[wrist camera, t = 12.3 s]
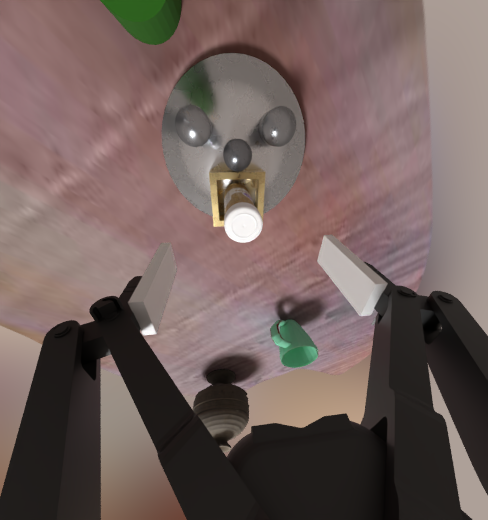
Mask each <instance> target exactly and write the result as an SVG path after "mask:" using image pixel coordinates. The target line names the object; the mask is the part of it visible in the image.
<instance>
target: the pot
mask: <svg viewBox="0 0 488 520" xmlns="http://www.w3.org/2000/svg"><path fill="white" fill-rule="evenodd" d="M234 379H235V373H234V372H232V371H230V370H227V369H220V370H216V371H213V372H211V373H210V374H208V376H207V380H208V382H209V383H211V384H212V385H213V386H212V385H210V386H209V387H207V388H206V389H204V390H202V391H200V392H198V394H197V395H196V398H195V401H194V406H193V411H194V413H195V414H197V415H198V417H199V418H200V419H201V420H202V422H203V423H204V425H205V426H206V428H207V429H208V431H209V432H210V434H211V435H212V437H213V438H214V439H215V441H216V442H217V444H218V445H219V447H220V448H221V450H222V451H223V452H228V451H230V450H231V446H230V445H229V444H228V443H227V441H228V440H231V439H233V438H235V437H236V436H238V435H239V434H240V433H241V432H242V431H243V430H244V428H245V427H246V425H247V423H248V419H249V405H248V398H247V396H246V395H247V393H246V392H245V391H244V390H243V389H242V388H240V387H238V386H236V385H232V384H230V383H232V382H233V381H234Z"/></svg>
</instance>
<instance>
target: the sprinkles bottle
mask: <svg viewBox="0 0 488 520" xmlns="http://www.w3.org/2000/svg"><path fill="white" fill-rule="evenodd" d="M224 207H225V217H224V227H225V231H226V233H227V235H228V236H229V237H230V238H231V239H232V240H234V241H237V242H242V243H244V242H249V241H252V240H254V239H255V238H256V237H257V236H258V235H259V234H260V232H261V230H262V226H263V221H262V217H261V215H260V213H259V211H258V209H257V208H256V207H255V206H254V203H253V201H252V199H251V196H250V194H249V191H248V189H247V188H246V187H245V186H244V185H242V184H239V183H234V184H231V185H230V186H228V187H227V188H226V190H225V192H224Z"/></svg>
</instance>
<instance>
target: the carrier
mask: <svg viewBox="0 0 488 520" xmlns="http://www.w3.org/2000/svg"><path fill="white" fill-rule="evenodd" d="M162 146H163V153H164V158H165V161H166V165H167V168H168V170H169V173H170V175H171V177H172V179H173V181H174V183H175V185H176V186H177V188H178V189H179V191H180V192H181V193H182V194H183V195H184V197H185V198H186V199H187V200H188V201H189V202H190V203H191V204H192V205H194V206H195V207H196V208H198V209H199V210H201V211H202V212H204V213H206V214H208V215H210V216H213V222H214V227H216V226H224V217H225V207H224V192H225V190H226V188H227V187H228V186H230V185H231V184H234V183H239V184H242V185H244V186H245V187H246V188H247V189H248V191H249V194H250V196H251V199H252V201H253V203H254V206H255V207H256V208H257V209H258V211H259V213H260V215H261V217H262V221H263V214H264V213H266V212H268V211H269V210H271V209H272V208H274V207H275V206H276V205H277V204H278V203H279V202H280V201H281V200H282V199H283V198H284V197H285V196H286V195H287V193H288V192H289V191H290V189H291V188H292V186H293V184H294V182H295V181H296V178H297V176H298V174H299V171H300V168H301V165H302V161H303V156H304V149H305V129H304V121H303V117H302V113H301V109H300V106H299V104H298V101H297V99H296V97H295V95H294V93H293V91H292V89H291V88H290V86H289V85H288V84H287V82H286V81H285V79H284V78H283V77H282V76H281V75H280V74H279V73H278V72H277V71H276V70H275V69H273V68H272V67H271V66H269V65H268V64H267V63H265V62H263V61H261V60H259V59H257V58H255V57H252V56H249V55H246V54H239V53H223V54H219V55H215V56H211V57H209V58H207V59H204V60H202V61H200V62H199V63H197V64H196V65H194V66H193V67H192V68H190V69H189V70H188V71H187V72H186V73H185V74H184V75H183V76H182V78H181V79H180V80H179V82H178V83H177V84H176V86H175V87H174V89H173V91H172V93H171V95H170V97H169V100H168V102H167V105H166V108H165V112H164V117H163V123H162Z"/></svg>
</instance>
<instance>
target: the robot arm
mask: <svg viewBox="0 0 488 520" xmlns="http://www.w3.org/2000/svg"><path fill="white" fill-rule="evenodd" d="M318 263H319V264H320V265H321V267H322V268H323V269H324V270H325V272H326V273H327V274H328V276H329V277H330V278H331V279H332V281H333V282H334V283H335V285H336V286H337V287H338V288H339V290H340V291H341V292H342V294H343V295H344V296H345V297H346V299H347V300H348V301H349V303H350V304H351V305H352V306H353V308H354V309H355V310H356V312H357V313H358V314H359V315H360V316H366V315H371V314H372V312H373V310H374V309H375V310H376V311H377V312H378V314H377V316H376V318H375V319H374V321H373V323H372V325H374V324H375V329H374V338H373V346H372V355H371V363H370V372H369V380H368V389H367V398H366V406H365V413H364V418H363V420H362V422H361V425H360V424H358V423H355V422H352V421H350V420H349V418H348V416H347V414H339V415H331V416H324V417H322V418H321V419H319V420H317V421H315V422H313V423H311V424H309V425H308V426H306V427H304V428H298V427H293V426H287V425H282V424H277V423H273V424H266V425H259V426H252V427H251V433H250V434H248V435H246V436H245V437H243V438H242V439H241V440H240V441H239V442H238V443H237V444H236V445H235V446H234V447H233V448H232V450H231V451H230V453H229V454H228V456H227V457H226V456H225V454H224V453H223V451H222V450H221V448H220V447H219V445H218V444H217V442H216V441H215V439H214V438H213V437H212V435H211V434H210V432H209V431H208V429H207V428H206V426H205V425H204V423H203V422H202V420H201V419H200V418H199V417H198V415H197V414H195V413H194V411H193V410H192V409H191V407H190V406H189V404H188V403H187V401H186V400H185V398H184V397H183V395H182V394H181V392H180V391H179V389H178V388H177V386H176V385H175V383H174V382H173V380H172V379H171V377H170V376H169V374H168V373H167V372H166V370H165V369H164V367H163V366H162V364H161V363H160V361H159V360H158V358H157V357H156V355H155V354H154V352H153V351H152V349H151V348H150V346H149V345H148V343H147V342H146V340H145V339H144V337H143V336H142V334H143V335H152V334H157V331H158V328H159V325H160V322H161V319H162V315H163V312H164V309H165V306H166V303H167V300H168V297H169V294H170V291H171V288H172V284H173V281H174V278H175V275H176V272H177V267H176V263H175V258H174V254H173V250H172V246H171V243H161V244H160V246H159V248H158V249H157V251H156V253H155V255H154V257H153V258H152V260H151V262H150V264H149V266H148V267H147V269H146V271H145V273H144V275H143V276H136V277H134V278H133V279H132V280H130V281H129V283H128V284H127V286H126V288H125V289H124V291H123V293H122V294H121V295H120V297H119V298H118V297H116V296H109V297H105V298H102V299H100V300H98V301H96V302H95V303H94V304H93V305H92V306H91V308H90V314H91V315H92V317H93V318H94V320H95V321H93V322H90V323H86V324H83V325H80V324H79V323H78V322H77V321H74V320H70V321H66V322H63V323H60V324H58V325H56V326H55V327H53V328H52V329H51V330H50V331H49V332H48V333H47V334H46V336H45V338H44V341H43V345H42V348H41V352H40V355H39V359H38V363H37V366H36V370H35V373H34V377H33V381H32V384H31V388H30V392H29V396H28V399H27V402H26V406H25V410H24V413H23V417H22V420H21V424H20V428H19V431H18V435H17V438H16V443H15V446H14V449H13V453H12V457H11V460H10V464H9V467H8V471H7V475H6V479H5V482H4V485H3V489H2V493H1V496H0V520H101V518H100V517H101V505H100V504H101V501H100V500H101V498H100V497H101V494H100V493H101V477H100V476H101V464H100V463H101V460H100V458H101V455H100V453H101V451H100V449H101V448H100V447H101V446H100V443H101V442H100V440H101V438H100V437H101V435H100V358H102V357H105V356H108V355H111V354H112V357H113V359H114V361H115V363H116V365H117V367H118V369H119V371H120V373H121V376H122V378H123V380H124V382H125V384H126V386H127V388H128V390H129V392H130V395H131V397H132V399H133V401H134V403H135V405H136V407H137V409H138V411H139V414H140V415H141V418H142V420H143V422H144V424H145V426H146V428H147V430H148V433H149V434H150V437H151V439H152V441H153V443H154V445H155V447H156V450H157V453H158V457H159V460H160V463H161V465H162V467H163V469H164V472H165V474H166V476H167V478H168V480H169V482H170V484H171V486H172V489H173V491H174V493H175V495H176V497H177V499H178V502H179V503H180V506H181V508H182V510H183V512H184V514H185V517H186V519H187V520H472V519H471V518H470V517H469V516H468V515H467V514H466V513H464V512H463V511H462V510H461V507H460V502H459V496H458V490H457V484H456V479H455V473H454V466H453V461H452V455H451V449H450V443H449V437H448V431H447V426H446V422H445V419H444V418H443V416H442V415H440V414H438V413H437V412H435V411H434V408H433V401H432V394H431V386H430V379H429V372H428V365H429V367H430V369H431V372H432V374H433V376H434V378H435V381H436V383H437V385H438V388H439V390H440V392H441V394H442V397H443V399H444V401H445V404H446V406H447V408H448V410H449V413H450V415H451V417H452V420H453V422H454V424H455V426H456V428H457V431H458V433H459V435H460V438H461V440H462V442H463V445H464V447H465V449H466V451H467V454H468V456H469V458H470V461H471V462H472V465H473V467H474V469H475V471H476V473H477V476H478V477H479V480H480V482H481V484H482V486H483V488H484V489H485V491H486V493H487V495H488V336H487V334H486V333H485V332H484V331H483V330H482V328H481V327H480V326H479V324H478V323H477V322H476V321H475V320H474V318H473V317H472V316H471V314H470V313H469V312H468V311H467V309H466V308H465V307H464V306H463V304H462V303H461V302H460V301H459V300H458V299H457V298H455V297H454V296H452V295H451V294H448V293H445V292H441V291H433V292H432V293H431V294H430V296H429V297H427V296H419V295H417V294H416V293H415V292H414V291H413V290H411V289H409V288H407V287H403V286H396V285H395V284H393V283H392V282H391V281H390V280H389V279H387V278H386V277H385V276H384V275H383V274H381V273H380V272H379V271H377V269H376V268H374V267H373V266H372V265H370V264H368V263H366V262H363V261H362V260H360V259H359V258H358V257H357V256H356V255H355V254H354V253H352V252H351V251H350V250H349V249H348V248H347V247H346V246H344V245H343V244H342V243H341V242H340V241H339V240H338V239H337V238H335V237H334V236H333V235H324V237H323V241H322V245H321V249H320V253H319V257H318ZM441 327H442V329H441ZM140 329H141V331H142V334H141V333H140ZM427 363H428V364H427Z"/></svg>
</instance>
